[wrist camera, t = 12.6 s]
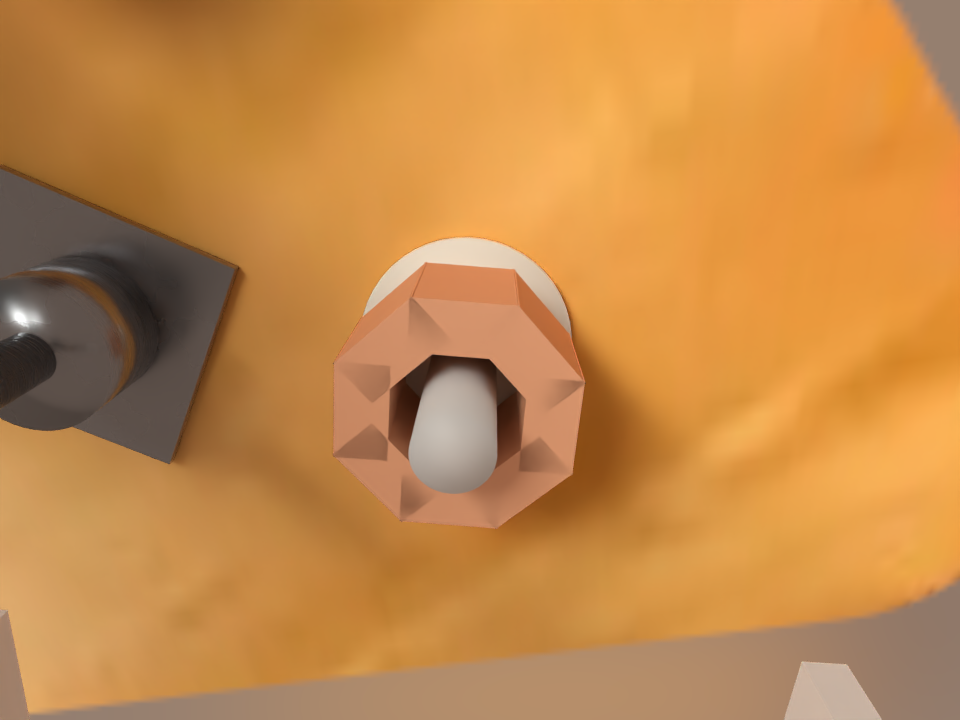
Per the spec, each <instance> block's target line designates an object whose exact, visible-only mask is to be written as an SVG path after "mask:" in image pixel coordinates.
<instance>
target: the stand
mask: <svg viewBox="0 0 960 720" xmlns="http://www.w3.org/2000/svg"><path fill="white" fill-rule="evenodd" d="M238 268H239V266H236V265H234V264H232V263H229V262H227V261H225V260H223V259H220V258H218V257H216V256H213V255H211V254H209V253H206V252H204V251H202V250H199V249H197V248H195V247H192V246H190V245H188V244H185V243H183V242H181V241H178V240H176V239H174V238H171V237H169V236H167V235H164V234H162V233H160V232H157V231H155V230H153V229H150V228H148V227H146V226H143V225H141V224H139V223H136V222H134V221H132V220H129V219H127V218H125V217H122V216H120V215H118V214H115V213H113V212H111V211H108V210H106V209H104V208H101V207H99V206H97V205H94V204H92V203H90V202H87V201H85V200H83V199H80V198H78V197H76V196H74V195H71V194H69V193H67V192H64V191H62V190H60V189H57V188H55V187H53V186H50V185H48V184H46V183H43V182H41V181H39V180H36V179H34V178H32V177H29V176H27V175H25V174H22V173H20V172H18V171H15V170H13V169H11V168H8V167H6V166H4V165H0V418H1V419H3V420H5V421H7V422H10V423H12V424H14V425H18V426H21V427H24V428H28V429H33V430H42V431H52V430H61V429H65V428H69V427H75V428H77V429H80V430H83V431H85V432H88V433H90V434H93V435H95V436H98V437H101V438H103V439H106V440H108V441H111V442H114V443H116V444H119V445H121V446H124V447H126V448H129V449H132V450H134V451H137V452H139V453H142V454H145V455H147V456H150V457H152V458H155V459H157V460H160V461H163V462H165V463H168V464H170V463H171V462H172V461H173V460H174V458H175V455H176V452H177V449H178V446H179V443H180V440H181V437H182V434H183V431H184V428H185V425H186V422H187V419H188V416H189V413H190V410H191V407H192V404H193V401H194V398H195V395H196V392H197V389H198V386H199V384H200V381H201V378H202V375H203V372H204V369H205V366H206V363H207V360H208V357H209V354H210V351H211V348H212V345H213V342H214V339H215V336H216V333H217V330H218V327H219V324H220V321H221V318H222V315H223V312H224V309H225V306H226V303H227V300H228V297H229V294H230V292H231V289H232V286H233V283H234V280H235V277H236V274H237V271H238Z"/></svg>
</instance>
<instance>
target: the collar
mask: <svg viewBox="0 0 960 720" xmlns="http://www.w3.org/2000/svg"><path fill="white" fill-rule="evenodd" d="M432 354H433V355H446V356H458V357H471V358H484V359H490V360H491V361H492V362H493V363H494V364H495V366H496V367H497V368H498V369H499V370H500V371H501V372H502V373H503V374H504V376H505V377H506V378H507V379H508V380H509V381H510V382H511V383H512V384H513V385H514V387H515V388H516V389H517V390H516V392H515V393H514V394H513V395H511V396H510V397H509V398H507V399H506V400H505V401H503V402H502V403H501V404H500V405H498V406H497V462H496V466H495V469H494V471H493V473H492V474H491V476H490V477H489V478H488V480H487V481H486V482H485V483H483V484H482V485H481V486H479V487H478V488H476V489H474V490H471V491H469V492H465V493H459V494H449V493H443V492H439V491H436V490H434V489H432V488H430V487H428V486H427V485H425V484H424V483H423V482H421V481H420V480H419V479H418V477H417V476H416V475H415V473H414V472H413V470H412V468H411V465H410V462H409V454H408V452H409V445H410V441H411V437H412V433H413V429H414V425H415V421H416V416H417V412H418V408H419V404H420V400H421V398H420V397H419V396H418V395H417V394H416V393H415V392H414V391H413V390H412V389H411V388H410V387H409V386H408V385H407V383H406V375H407V374H409V373H410V372H411V371H412V370H413V369H415V368H416V367H417V366H418V365H420V364H421V363H422V362H423V361H424V360H426V359H427V358H428V357H429V356H431V355H432ZM333 364H334V452H333V457H335V458H337V459H338V460H339V461H340V462H341V463H342V464H343V465H344V466H345V467H346V468H347V469H348V470H349V471H350V472H351V473H352V474H353V475H354V476H355V477H356V478H357V479H358V480H359V481H360V482H361V483H362V484H363V485H364V486H365V487H366V488H367V489H368V490H369V491H370V492H372V493H373V494H374V495H375V496H376V497H377V498H378V499H379V500H380V501H381V502H382V503H383V504H384V505H385V506H386V507H387V508H388V509H389V510H390V511H391V512H392V513H393V514H394V515H395V516H396V517H397V518H398V519H399V520H400V521H401V522H402V521H407V522H420V523H433V524H446V525H459V526H472V527H485V528H495V529H496V528H498V527H499V526H501V525H502V524H503V523H505V522H506V521H507V520H509V519H510V518H512V517H513V516H514V515H516V514H517V513H519V512H520V511H521V510H523V509H524V508H526V507H527V506H528V505H530V504H531V503H533V502H534V501H535V500H537V499H538V498H540V497H541V496H542V495H544V494H545V493H547V492H548V491H549V490H551V489H552V488H553V487H555V486H556V485H558V484H559V483H560V482H562V481H563V480H565V479H566V478H567V477H569V476H570V475H572V474H573V465H574V457H575V450H576V443H577V436H578V429H579V421H580V414H581V407H582V400H583V393H584V385H585V384H586V383H585V380H584V376H583V373H582V370H581V367H580V364H579V361H578V358H577V355H576V352H575V349H574V346H573V343H572V339H571V336H570V333H568V332H567V331H566V330H565V328H564V327H563V326H562V325H561V324H560V322H559V321H558V320H557V319H556V318H555V317H554V315H553V314H552V313H551V312H550V311H549V310H548V308H547V307H546V306H545V305H544V304H543V303H542V301H541V300H540V299H539V298H538V297H537V296H536V294H535V293H534V292H533V291H532V290H531V288H530V287H529V286H528V285H527V284H526V283H525V281H524V280H523V279H522V278H521V277H520V276H519V274H518V273H517V272H516V270H515V269H503V268H490V267H478V266H465V265H453V264H440V263H428V262H424V264H423V265H422V266H421V267H420V268H419V269H417V270H416V271H415V272H414V273H413V274H412V275H411V276H409V277H408V278H407V279H406V280H405V281H404V282H402V283H401V284H400V285H399V286H398V287H397V288H395V289H394V290H393V291H392V292H391V293H390V294H388V295H387V296H386V297H385V298H384V299H383V300H382V301H380V302H379V303H378V304H377V305H376V306H375V307H373V308H372V309H371V310H370V311H369V312H368V313H366V314H365V315H364V316H362V317H361V319H360V320H359V322H358V323H357V325H356V327H355V328H354V330H353V332H352V333H351V335H350V336H349V338H348V340H347V341H346V343H345V345H344V346H343V348H342V349H341V351H340V353H339V354H338V356H337V357H336V359H335V361H334V363H333Z"/></svg>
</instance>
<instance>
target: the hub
mask: <svg viewBox="0 0 960 720" xmlns="http://www.w3.org/2000/svg"><path fill="white" fill-rule="evenodd" d="M424 262H428V263H440V264H453V265H465V266H478V267H490V268H503V269H515V270H516V272H517V273H518V274H519V276H520V277H521V278H522V279H523V280H524V281H525V283H526V284H527V285H528V286H529V287H530V288H531V290H532V291H533V292H534V293H535V294H536V296H537V297H538V298H539V299H540V300H541V301H542V303H543V304H544V305H545V306H546V307H547V308H548V310H549V311H550V312H551V313H552V314H553V315H554V317H555V318H556V319H557V320H558V321H559V322H560V324H561V325H562V326H563V327H564V328H565V330H566V331H567V332H568V333H570V336H571V339H572V334H571V326H570V320H569V316H568V313H567V309H566V306H565V304H564V301H563V299H562V297H561V294H560V292H559V291H558V289H557V287H556V286H555V284H554V282H553V281H552V280H551V278H550V277H549V276H548V275H547V273H546V272H545V271H544V270H543V269H542V268H541V267H540V266H539V265H538V264H537V263H536V262H535V261H533V260H532V259H530V258H529V257H528V256H526V255H525V254H524V253H522V252H520V251H518V250H516V249H514V248H512V247H511V246H508V245H505V244H503V243H500V242H497V241H493V240H489V239H485V238H477V237H453V238H446V239H440V240H437V241H434V242H431V243H427V244H425V245H423V246H421V247H418V248H416V249H414V250H413V251H411V252H409V253H408V254H406V255H405V256H403V257H402V258H401V259H399V260H398V261H397V262H396V263H395V264H393V265H392V266H391V267H390V268H389V269H388V271H387V272H386V273H385V274H384V275H383V276H382V278H381V279H380V281H379V282H378V284H377V285H376V287H375V288H374V290H373V292H372V294H371V296H370V298H369V300H368V302H367V305H366V308H365V311H364V314H363V316H364V315H365V314H366V313H368V312H369V311H370V310H371V309H372V308H373V307H375V306H376V305H377V304H378V303H379V302H380V301H382V300H383V299H384V298H385V297H386V296H387V295H388V294H390V293H391V292H392V291H393V290H394V289H395V288H397V287H398V286H399V285H400V284H401V283H402V282H404V281H405V280H406V279H407V278H408V277H409V276H411V275H412V274H413V273H414V272H415V271H416V270H417V269H419V268H420V267H421V266H422V265H423V264H424ZM406 383H407V385H408V386H409V387H410V388H411V389H412V390H413V391H414V392H415V393H416V394H417V395H418V396H419V397H420V398H421V400H420V404H419V408H418V412H417V416H416V421H415V425H414V429H413V433H412V437H411V441H410V445H409V452H408V454H409V462H410V465H411V468H412V470H413V472H414V473H415V475H416V476H417V477H418V479H419V480H420V481H421V482H423V483H424V484H425V485H427V486H428V487H430V488H432V489H434V490H436V491H439V492H443V493H449V494H459V493H465V492H469V491H471V490H474V489H476V488H478V487H479V486H481V485H482V484H483V483H485V482H486V481H487V480H488V478H489V477H490V476H491V474H492V473H493V471H494V469H495V466H496V462H497V406H498V405H500V404H501V403H502V402H503V401H505V400H506V399H507V398H509V397H510V396H511V395H513V394H514V393H515V392H516V390H517V389H516V388H515V387H514V385H513V384H512V383H511V382H510V381H509V380H508V379H507V378H506V377H505V376H504V374H503V373H502V372H501V371H500V370H499V369H498V368H497V367H496V366H495V364H494V363H493V362H492V361H491V360H490V359H484V358H471V357H458V356H446V355H433V354H432V355H431V356H429V357H428V358H427V359H426V360H424V361H423V362H422V363H421V364H420V365H418V366H417V367H416V368H415V369H413V370H412V371H411V372H410V373H409V374H407V375H406Z"/></svg>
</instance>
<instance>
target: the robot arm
mask: <svg viewBox="0 0 960 720" xmlns="http://www.w3.org/2000/svg"><path fill="white" fill-rule="evenodd" d="M0 720H30V718H29V714H28V709H27V704H26V699H25V694H24V689H23V684H22V679H21V674H20V669H19V664H18V659H17V654H16V649H15V644H14V640H13V635H12V630H11V625H10V620H9V615H8V610H0ZM784 720H882V719H881V717H880V716H879V714H878V713H877V711H876V709H875V708H874V706H873V705H872V703H871V702H870V700H869V698H868V697H867V696H866V694H865V692H864V691H863V689H862V687H861V686H860V684H859V683H858V681H857V680H856V678H855V677H854V675H853V673H852V672H851V670H850V668H849V667H848V665H847V664H834V663H818V662H801V666H800V669H799V672H798V676H797V679H796V682H795V685H794V688H793V692H792V695H791V698H790V702H789V705H788V708H787V711H786V715H785V718H784Z"/></svg>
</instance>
